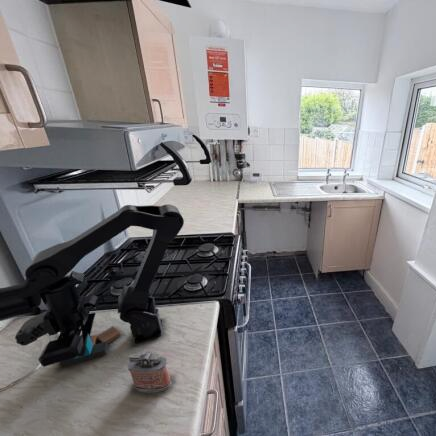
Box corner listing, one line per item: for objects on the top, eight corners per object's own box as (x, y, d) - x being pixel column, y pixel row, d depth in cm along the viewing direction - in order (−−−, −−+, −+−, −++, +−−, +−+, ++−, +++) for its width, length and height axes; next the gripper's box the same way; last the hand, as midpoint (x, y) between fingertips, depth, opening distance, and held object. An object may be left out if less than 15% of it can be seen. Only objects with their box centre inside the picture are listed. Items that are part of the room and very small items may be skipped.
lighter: (174, 377, 56) (167, 348, 52) (167, 392, 53) (159, 362, 49) (139, 377, 56) (130, 348, 52) (131, 392, 53) (120, 362, 49)
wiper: (108, 345, 63) (103, 330, 61) (106, 354, 61) (100, 338, 59) (65, 357, 59) (58, 342, 57) (60, 367, 57) (53, 352, 55)
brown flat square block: (120, 335, 66) (119, 332, 66) (104, 346, 63) (103, 343, 62) (113, 329, 68) (112, 326, 67) (97, 339, 65) (96, 336, 64)
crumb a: (98, 337, 65) (97, 334, 65) (94, 349, 62) (93, 345, 62) (80, 342, 64) (78, 339, 63) (75, 354, 60) (73, 351, 60)
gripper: (35, 286, 58) (56, 333, 64) (-14, 347, 42) (20, 401, 48) (91, 276, 62) (106, 320, 68) (66, 327, 47) (88, 379, 53)
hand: (83, 350), depth 59 cm, fingers closed on wiper, 3 cm apart
